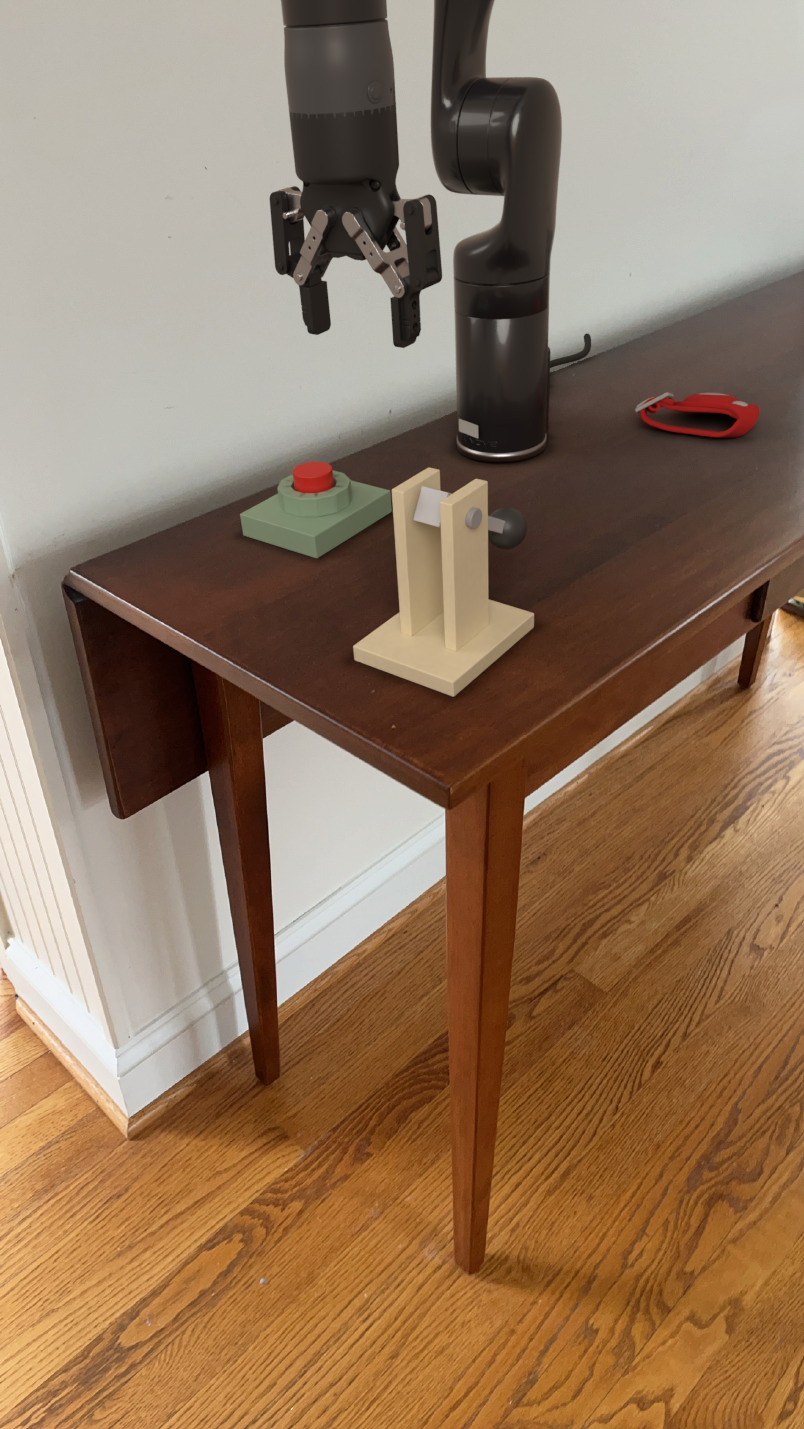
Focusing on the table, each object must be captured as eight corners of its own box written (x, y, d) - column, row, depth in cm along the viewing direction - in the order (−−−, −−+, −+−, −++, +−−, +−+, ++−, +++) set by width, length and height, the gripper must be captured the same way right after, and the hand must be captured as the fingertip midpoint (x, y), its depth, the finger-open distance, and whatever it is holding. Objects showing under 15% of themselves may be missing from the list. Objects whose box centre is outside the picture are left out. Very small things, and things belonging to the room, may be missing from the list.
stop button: (312, 476, 95) (310, 458, 94) (342, 484, 93) (340, 466, 92) (286, 490, 93) (284, 472, 92) (316, 498, 91) (314, 480, 90)
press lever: (492, 546, 82) (503, 506, 81) (527, 555, 80) (538, 515, 79) (405, 524, 71) (417, 478, 70) (443, 534, 69) (455, 488, 69)
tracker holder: (712, 393, 114) (782, 395, 106) (707, 434, 115) (775, 439, 107) (627, 389, 109) (693, 390, 100) (623, 432, 110) (688, 437, 101)
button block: (319, 492, 101) (315, 453, 99) (392, 511, 97) (389, 472, 94) (242, 535, 94) (236, 495, 92) (317, 559, 90) (312, 517, 87)
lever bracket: (438, 597, 83) (432, 446, 76) (534, 627, 78) (538, 469, 71) (353, 660, 76) (337, 501, 69) (453, 697, 72) (448, 531, 64)
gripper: (457, 95, 70) (462, 336, 80) (298, 93, 77) (321, 316, 87) (393, 110, 65) (407, 364, 75) (230, 107, 72) (262, 340, 82)
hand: (361, 338), depth 81 cm, fingers open, 8 cm apart
